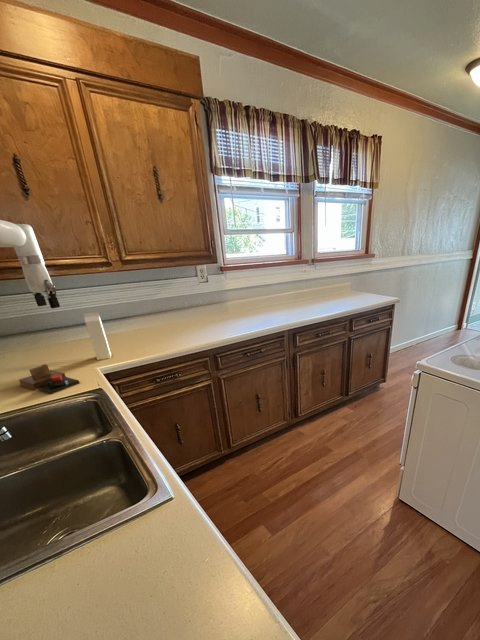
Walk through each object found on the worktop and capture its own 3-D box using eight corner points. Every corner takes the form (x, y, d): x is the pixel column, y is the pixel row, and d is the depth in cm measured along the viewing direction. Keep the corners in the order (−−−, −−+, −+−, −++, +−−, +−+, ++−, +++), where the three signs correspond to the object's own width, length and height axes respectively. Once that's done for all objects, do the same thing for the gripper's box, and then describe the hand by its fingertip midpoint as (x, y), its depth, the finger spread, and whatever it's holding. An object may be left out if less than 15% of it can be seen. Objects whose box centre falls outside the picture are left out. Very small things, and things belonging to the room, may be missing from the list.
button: (55, 382, 126) (53, 378, 125) (49, 381, 127) (48, 377, 126) (64, 379, 129) (63, 375, 128) (59, 378, 130) (57, 374, 129)
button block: (51, 394, 123) (48, 386, 122) (39, 391, 127) (36, 383, 125) (79, 384, 132) (77, 376, 131) (68, 380, 135) (65, 373, 134)
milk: (98, 357, 162) (83, 312, 152) (111, 355, 164) (98, 310, 154) (97, 360, 157) (82, 314, 147) (111, 358, 159) (97, 313, 149)
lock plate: (35, 391, 127) (32, 383, 125) (21, 386, 131) (18, 379, 129) (67, 379, 136) (64, 372, 135) (52, 376, 140) (50, 369, 139)
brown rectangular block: (35, 379, 129) (30, 369, 128) (32, 378, 130) (28, 368, 128) (50, 374, 134) (47, 364, 132) (48, 373, 135) (44, 363, 133)
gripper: (9, 261, 124) (27, 306, 132) (32, 262, 117) (50, 310, 125) (31, 259, 130) (47, 303, 138) (54, 260, 123) (70, 306, 131)
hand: (49, 306), depth 131 cm, fingers open, 9 cm apart
